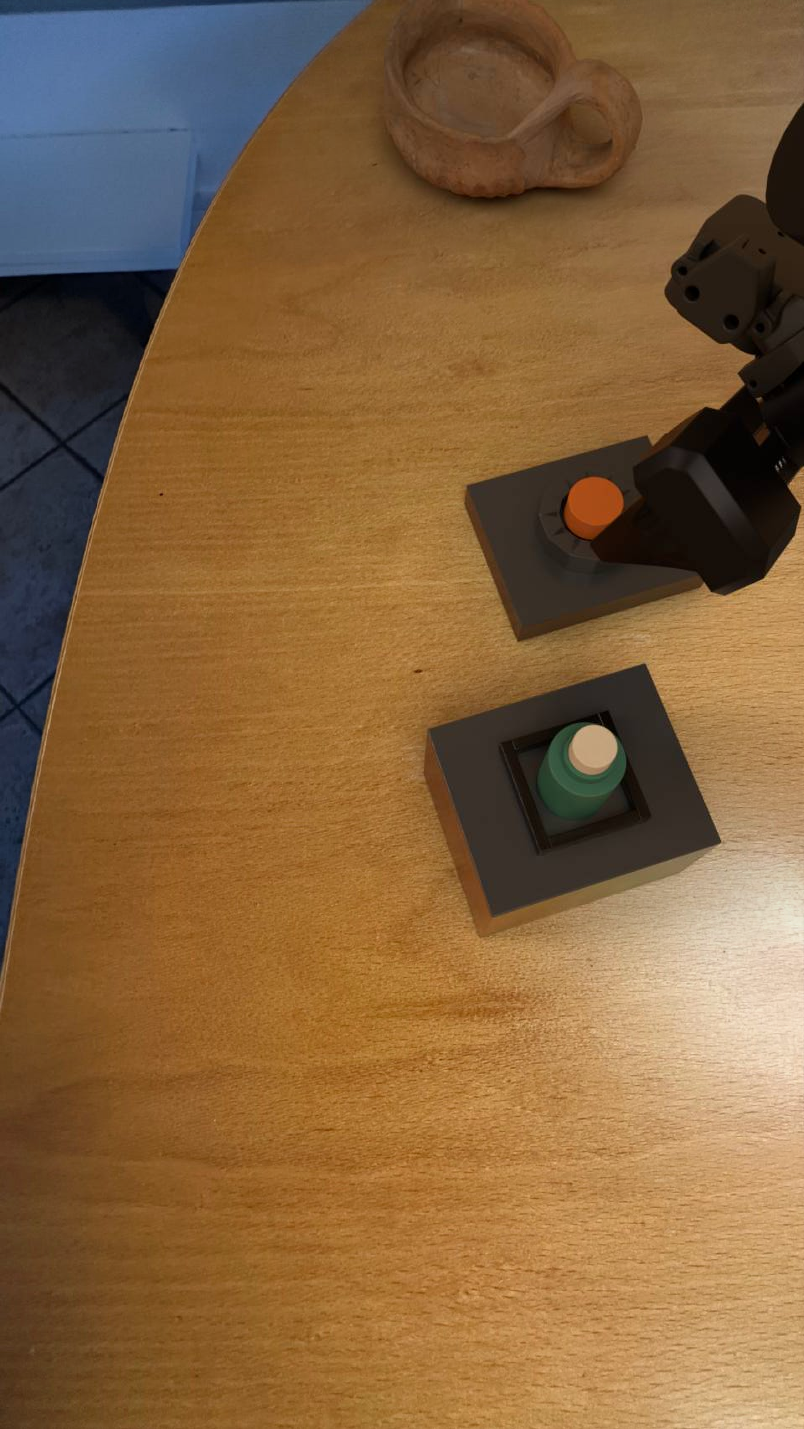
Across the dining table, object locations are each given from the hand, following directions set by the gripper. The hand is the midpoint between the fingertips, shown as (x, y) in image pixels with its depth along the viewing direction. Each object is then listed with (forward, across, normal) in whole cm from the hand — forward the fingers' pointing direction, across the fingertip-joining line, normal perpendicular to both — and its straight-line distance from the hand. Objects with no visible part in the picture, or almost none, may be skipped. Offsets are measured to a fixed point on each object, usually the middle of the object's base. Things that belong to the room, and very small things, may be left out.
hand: (639, 504), depth 51 cm
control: (+12, -9, +2) cm, 15 cm away
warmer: (+13, +6, +12) cm, 19 cm away
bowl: (+15, -30, -21) cm, 39 cm away
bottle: (+6, +9, +9) cm, 14 cm away
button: (+9, -7, +1) cm, 12 cm away
